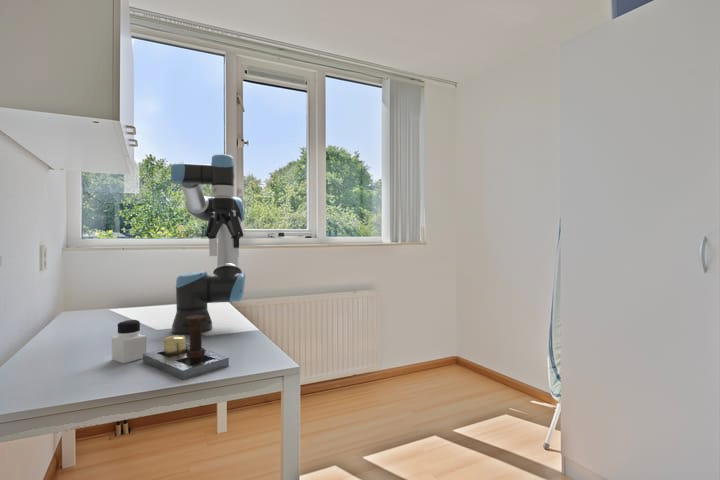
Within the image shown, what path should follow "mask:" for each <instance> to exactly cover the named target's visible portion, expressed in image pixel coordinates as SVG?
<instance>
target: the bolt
mask: <svg viewBox="0 0 720 480" xmlns="http://www.w3.org/2000/svg"><path fill="white" fill-rule="evenodd" d="M203 322H206V317H205V316H204V315H193V316H188V317H186V318H185V323H187V324H189V328H190V334H189V345H190V349H189V350H188V351H187V357H189V358H190V362H191V363H190V365H189V366H192V365H195V364H199V363H202V356H204V354H205V350H206V349H205V348H203V346H202V339H203V338H202V333H203V332H202V330H201V328H202V323H203Z"/></svg>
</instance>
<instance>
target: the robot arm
mask: <svg viewBox="0 0 720 480" xmlns="http://www.w3.org/2000/svg"><path fill="white" fill-rule="evenodd" d="M234 165H235V162H234V157H233V156H232V155H230V154H225V153H224V154H223V153H219V154H214V155H212V156H211V164H201V163H200V164H198V163H185V162H182V163H173V164H172V165H171V169H170V179H171V182H172V183H173V184H178V185H180V186H181V190H182V191H183V192H182V193H183V195H184V198H185V207H186V210H187V211H188V213H189V214H191V215H192V216H193V217H194V218H197V219H199V220H201V221H203V222H208V223H207V226H206V231H205V234H204V235H205V238H207V239H208V247H209V248H208V249H209V250H208V251H209V257H217V261H216V263H217V266H216V268H214V270H213V272H212V274H208V272H207V271H206V270H204V271H193V272H188V273H184V274H179V276H177V278H176V285H175V290H176V291H175V293H176V294H175V296H176V301H175V302H176V312H175V316H174V318H173V322H172V325H171V332H172V333H173V334H178V335H188V334H189V335H190V328H189V324H187V323H185V318H186V317H188V316H193V315H204V316H205V317H206V322H203V323H202V328H201V330H202V333H204V332H207V331H210V330H211V329H212V328H213V322H212V319H211V316H210V312H209V310H208V304H213V303H214V304H216V303H217V304H218V303H233V302H240V301H242V300H243V298H244V293H245V288H246V285H245V284H246V274H245V273H243V272H242V269H241V268H240V267H239V257H240V239H241V238H242V237H244V233H243V228H242V225H241V224H242V223H243V222H244V221H245V212H244V205H243V200H242V199H241V198H240V197H235V185H234V184H235V183H234V181H235V180H234V179H235V170H234V169H235V168H234ZM203 185H208V186H209V185H211V195H212V196H205V192H204V187H203Z"/></svg>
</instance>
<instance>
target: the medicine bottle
mask: <svg viewBox="0 0 720 480" xmlns="http://www.w3.org/2000/svg"><path fill="white" fill-rule="evenodd" d="M145 353H147V335H144V334H141V322H140V320H137V319H125V320H122V321H119V322H118V323H117V335H116V336H112V337H111V360H113V361H116V362H118V363H121V364H123V363H124V364H128V363H130V362H131V361H132V362H135V361H139V360H143V354H145Z"/></svg>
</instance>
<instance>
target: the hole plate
mask: <svg viewBox="0 0 720 480" xmlns="http://www.w3.org/2000/svg"><path fill="white" fill-rule="evenodd" d="M186 340H187V339H186V335H184V334H178V335H177V334H176V335H175V334H174V335H170V336H167V337H164V338H163V349H159V350H155V351H151V352H146V353H145V354H143V359H142V363H144V364H146V365H148V366H150V367H153V368H154V369H158V370H160V371H162V372H164V373H167V374H169V375H171V376H174V377H176V378H178V379H180V380H182V381H184V380H187V379H191V378H194V377H197V376H200V375H203V374H206V373H210V372H213V371H216V370H220V369H223V368H226V367H229V366H230V357H229V356H226V355H222V354H221V353H216V352H213V351H210V350H207V349H205V354H204V356H202V363H199V364H195V365H192V366H190V363H191V362H190V358H189V357H187V351H188V350H189V349H190V343H189V344H188V343H186Z"/></svg>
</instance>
